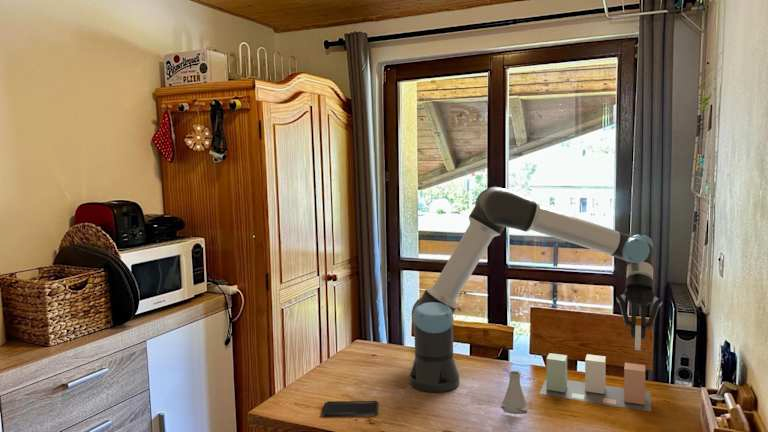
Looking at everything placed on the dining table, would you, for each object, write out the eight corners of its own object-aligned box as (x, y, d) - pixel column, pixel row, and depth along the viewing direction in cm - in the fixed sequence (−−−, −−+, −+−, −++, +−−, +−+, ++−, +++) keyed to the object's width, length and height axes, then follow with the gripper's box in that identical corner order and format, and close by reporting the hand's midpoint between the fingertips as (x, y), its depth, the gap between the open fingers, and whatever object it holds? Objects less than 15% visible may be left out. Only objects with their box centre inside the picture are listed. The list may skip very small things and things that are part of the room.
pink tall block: (623, 401, 140) (624, 368, 139) (624, 394, 144) (624, 362, 143) (644, 404, 137) (645, 371, 137) (644, 397, 142) (645, 365, 141)
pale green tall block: (546, 389, 148) (546, 358, 148) (549, 383, 153) (549, 353, 152) (564, 392, 146) (565, 361, 145) (567, 385, 151) (567, 355, 150)
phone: (325, 401, 147) (378, 400, 146) (325, 405, 147) (378, 404, 146) (320, 414, 139) (377, 413, 138) (321, 418, 139) (377, 417, 138)
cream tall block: (585, 391, 147) (585, 359, 146) (586, 384, 151) (586, 354, 150) (604, 394, 144) (604, 362, 144) (605, 387, 149) (605, 356, 148)
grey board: (539, 398, 146) (539, 393, 146) (546, 381, 158) (546, 376, 158) (651, 417, 134) (651, 411, 134) (650, 397, 146) (650, 391, 146)
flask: (529, 415, 137) (529, 378, 136) (501, 413, 138) (501, 377, 137) (527, 403, 144) (527, 368, 143) (500, 402, 145) (500, 367, 144)
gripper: (662, 287, 163) (662, 357, 150) (617, 284, 169) (613, 351, 156) (663, 274, 158) (663, 344, 145) (616, 271, 164) (612, 338, 150)
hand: (637, 347), depth 150 cm, fingers closed
